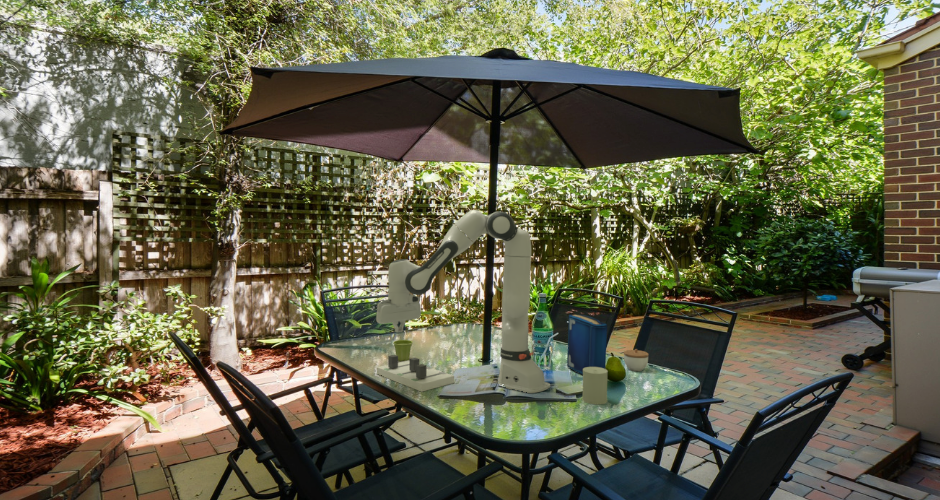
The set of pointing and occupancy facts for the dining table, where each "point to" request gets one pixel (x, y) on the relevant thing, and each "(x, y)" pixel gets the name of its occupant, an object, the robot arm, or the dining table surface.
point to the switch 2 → (421, 371)
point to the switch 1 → (393, 361)
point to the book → (586, 343)
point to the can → (594, 385)
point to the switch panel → (410, 380)
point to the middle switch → (413, 364)
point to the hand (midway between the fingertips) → (399, 331)
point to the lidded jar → (636, 359)
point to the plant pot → (403, 349)
